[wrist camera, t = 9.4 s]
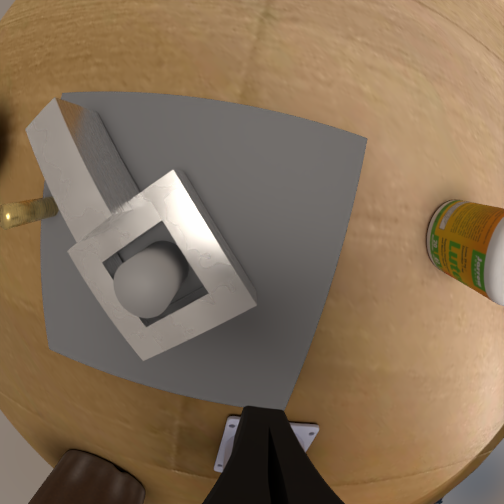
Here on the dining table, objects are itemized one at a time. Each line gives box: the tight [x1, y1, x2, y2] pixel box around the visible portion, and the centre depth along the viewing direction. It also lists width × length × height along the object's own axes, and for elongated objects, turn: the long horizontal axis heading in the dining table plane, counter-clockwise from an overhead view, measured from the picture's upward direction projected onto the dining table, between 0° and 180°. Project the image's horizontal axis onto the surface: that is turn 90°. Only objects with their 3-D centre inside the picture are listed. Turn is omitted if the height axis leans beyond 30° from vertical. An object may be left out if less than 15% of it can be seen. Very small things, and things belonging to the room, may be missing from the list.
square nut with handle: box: [26, 97, 257, 361], centre depth 13 cm, size 14×8×4 cm, turn 30°
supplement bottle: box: [427, 200, 504, 306], centre depth 12 cm, size 5×5×10 cm
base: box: [41, 92, 367, 411], centre depth 15 cm, size 20×20×5 cm
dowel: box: [0, 196, 59, 230], centre depth 13 cm, size 1×1×5 cm
